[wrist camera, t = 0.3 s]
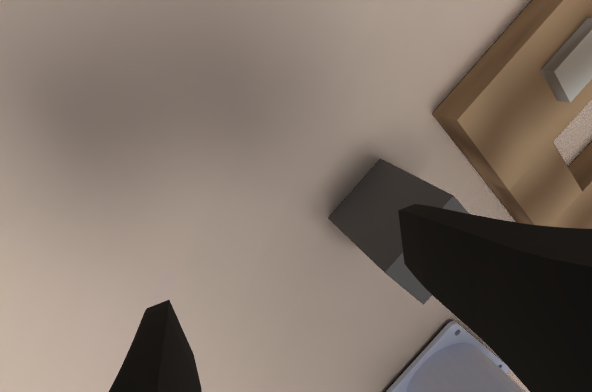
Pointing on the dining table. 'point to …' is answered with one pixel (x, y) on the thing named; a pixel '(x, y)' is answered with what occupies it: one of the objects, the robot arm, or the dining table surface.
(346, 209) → the grey block
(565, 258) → the robot arm
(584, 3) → the socket board
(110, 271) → the dining table surface
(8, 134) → the dining table surface
